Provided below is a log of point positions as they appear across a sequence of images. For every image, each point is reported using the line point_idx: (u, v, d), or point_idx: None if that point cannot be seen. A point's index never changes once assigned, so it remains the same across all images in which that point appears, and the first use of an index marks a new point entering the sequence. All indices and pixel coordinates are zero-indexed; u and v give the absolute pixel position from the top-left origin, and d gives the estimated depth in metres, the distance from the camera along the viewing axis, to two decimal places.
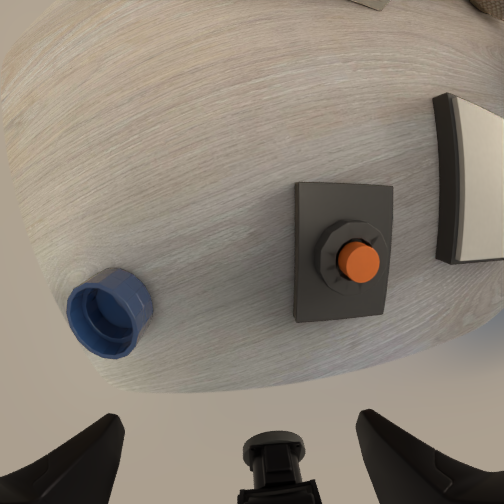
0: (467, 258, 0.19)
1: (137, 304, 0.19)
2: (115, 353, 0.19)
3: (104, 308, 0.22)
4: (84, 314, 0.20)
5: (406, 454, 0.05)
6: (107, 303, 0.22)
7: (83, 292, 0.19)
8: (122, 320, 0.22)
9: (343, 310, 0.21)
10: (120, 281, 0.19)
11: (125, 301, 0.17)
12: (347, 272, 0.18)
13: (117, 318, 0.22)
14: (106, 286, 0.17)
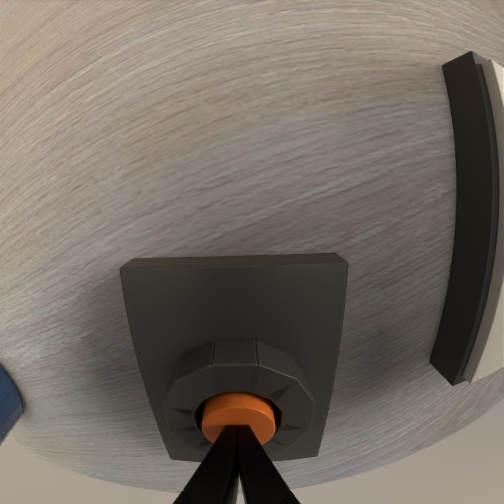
0: (483, 375, 0.09)
1: None
2: None
3: None
4: None
5: (251, 484, 0.05)
6: None
7: None
8: None
9: None
10: None
11: None
12: (207, 437, 0.08)
13: None
14: None
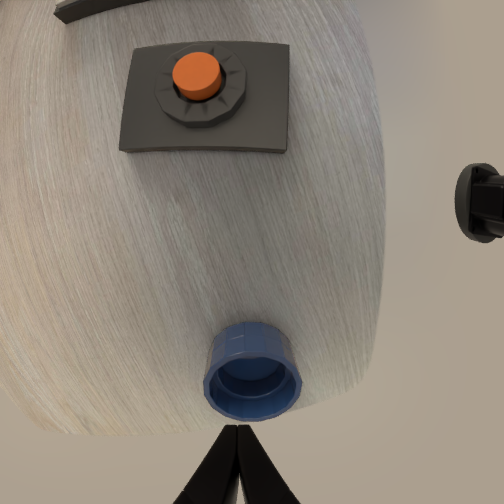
0: None
1: (236, 342, 0.17)
2: (295, 381, 0.16)
3: (256, 374, 0.21)
4: (254, 399, 0.19)
5: (251, 484, 0.05)
6: (250, 370, 0.20)
7: (226, 395, 0.18)
8: None
9: (276, 91, 0.15)
10: (211, 354, 0.17)
11: (223, 357, 0.16)
12: (202, 88, 0.12)
13: (269, 363, 0.20)
14: (207, 373, 0.16)
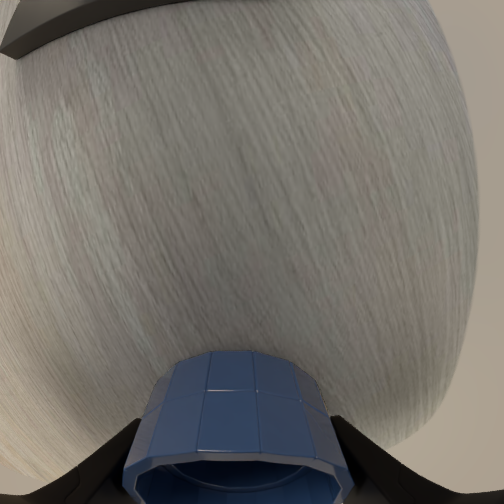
0: None
1: (182, 413, 0.06)
2: None
3: None
4: (249, 491, 0.07)
5: (368, 466, 0.05)
6: None
7: (193, 487, 0.07)
8: None
9: None
10: (138, 428, 0.06)
11: (145, 456, 0.04)
12: None
13: None
14: None
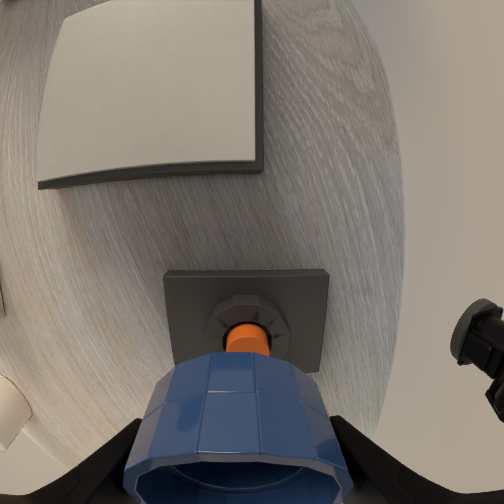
0: (251, 141, 0.14)
1: (183, 415, 0.06)
2: None
3: None
4: (249, 491, 0.07)
5: (368, 466, 0.05)
6: None
7: (193, 488, 0.07)
8: None
9: (313, 328, 0.19)
10: (139, 429, 0.06)
11: (146, 457, 0.04)
12: None
13: None
14: None
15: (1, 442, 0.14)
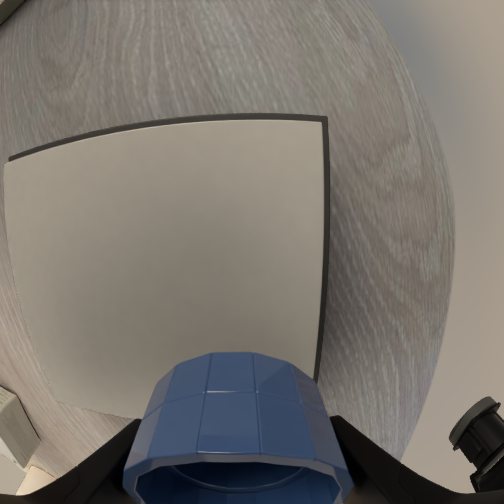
0: None
1: (182, 415, 0.06)
2: None
3: None
4: (249, 492, 0.07)
5: (368, 466, 0.05)
6: None
7: (193, 488, 0.07)
8: None
9: None
10: (139, 429, 0.06)
11: (145, 458, 0.04)
12: None
13: None
14: None
15: None
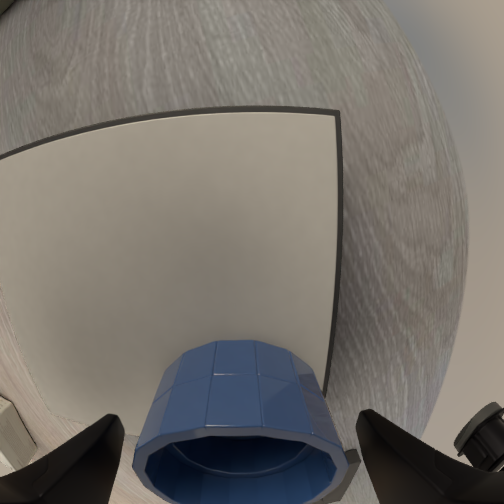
0: None
1: (191, 395, 0.06)
2: (334, 462, 0.06)
3: None
4: (250, 477, 0.08)
5: (406, 454, 0.05)
6: None
7: (197, 473, 0.08)
8: None
9: (341, 486, 0.15)
10: (149, 412, 0.07)
11: (157, 434, 0.05)
12: None
13: None
14: (134, 456, 0.05)
15: None
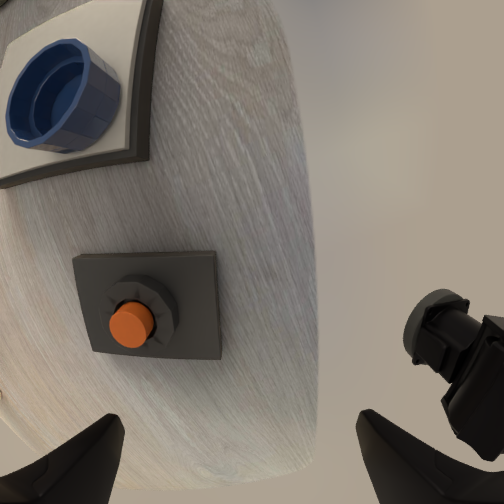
0: (121, 131, 0.14)
1: None
2: None
3: None
4: None
5: (406, 454, 0.05)
6: None
7: (34, 138, 0.11)
8: None
9: (205, 312, 0.18)
10: None
11: (29, 60, 0.08)
12: (137, 346, 0.16)
13: None
14: (13, 86, 0.09)
15: None
